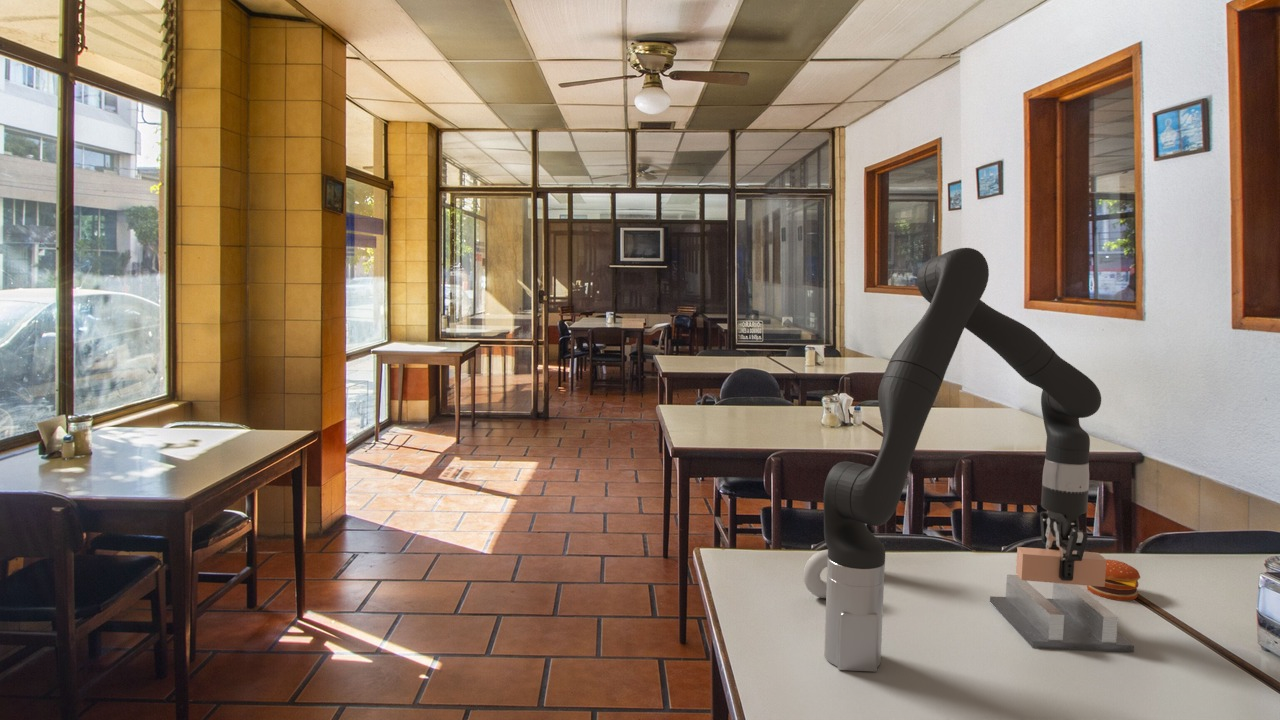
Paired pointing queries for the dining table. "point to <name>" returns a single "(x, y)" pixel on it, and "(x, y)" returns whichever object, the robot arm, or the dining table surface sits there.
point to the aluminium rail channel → (1060, 618)
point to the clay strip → (1047, 563)
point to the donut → (816, 573)
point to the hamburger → (1118, 582)
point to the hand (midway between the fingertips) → (1059, 574)
